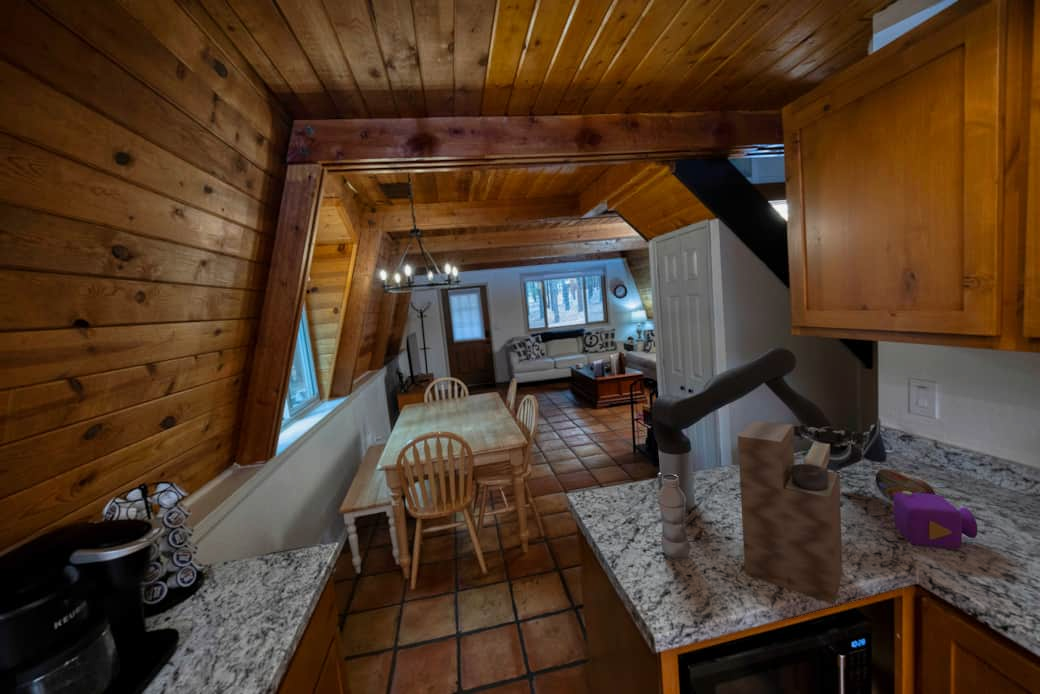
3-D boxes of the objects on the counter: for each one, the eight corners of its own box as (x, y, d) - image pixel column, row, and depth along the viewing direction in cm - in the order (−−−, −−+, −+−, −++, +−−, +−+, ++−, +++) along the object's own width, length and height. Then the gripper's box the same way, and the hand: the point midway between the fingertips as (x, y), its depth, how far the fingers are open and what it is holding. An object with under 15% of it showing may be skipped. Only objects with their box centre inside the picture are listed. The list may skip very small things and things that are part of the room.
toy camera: (991, 553, 89) (991, 510, 88) (917, 552, 92) (917, 510, 91) (950, 526, 100) (950, 487, 99) (885, 525, 103) (884, 488, 101)
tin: (874, 492, 118) (874, 464, 117) (885, 490, 118) (885, 463, 117) (927, 519, 103) (927, 487, 102) (939, 517, 103) (939, 486, 102)
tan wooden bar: (789, 486, 83) (788, 472, 82) (806, 453, 97) (806, 441, 97) (826, 493, 79) (825, 479, 78) (838, 457, 93) (837, 445, 93)
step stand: (745, 574, 91) (737, 436, 87) (758, 547, 100) (752, 420, 96) (835, 605, 80) (830, 448, 76) (842, 571, 89) (838, 429, 85)
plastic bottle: (676, 567, 96) (670, 486, 94) (656, 552, 102) (650, 475, 100) (696, 557, 98) (691, 478, 96) (675, 543, 104) (670, 469, 102)
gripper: (802, 426, 117) (791, 412, 106) (867, 434, 107) (862, 418, 96) (800, 453, 115) (788, 440, 104) (866, 462, 105) (861, 450, 94)
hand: (824, 430), depth 100 cm, fingers open, 8 cm apart
